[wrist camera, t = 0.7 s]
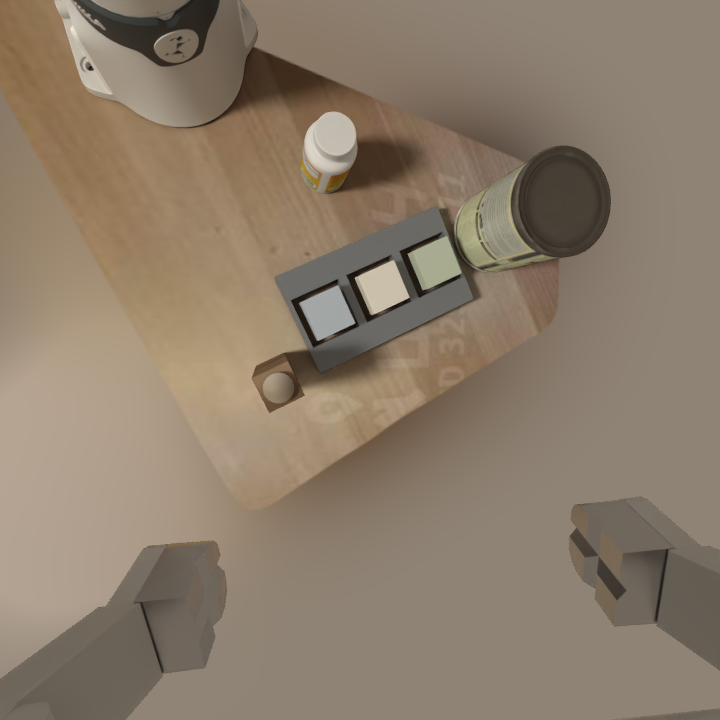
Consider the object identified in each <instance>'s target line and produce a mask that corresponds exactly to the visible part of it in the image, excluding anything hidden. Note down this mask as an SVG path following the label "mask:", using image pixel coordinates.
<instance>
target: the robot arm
mask: <svg viewBox="0 0 720 720" xmlns="http://www.w3.org/2000/svg"><path fill="white" fill-rule="evenodd" d="M55 4H56V7H57V9H58V11H59V13H60V15H61V17H62V19H63V22H64V26H65V29H66V32H67V36H68V39H69V42H70V45H71V49H72V52H73V55H74V58H75V62H76V65H77V68H78V72H79V75H80V78H81V80H82V83H83V84H84V86H85V88H86V89H87V90H88V91H89V92H90V93H92V94H94V95H96V96H98V97H102V98H105V99H109V100H114V101H118V102H120V103H122V104H124V105H126V106H127V107H129V108H130V109H132V110H133V111H135V112H136V113H138V114H139V115H141V116H143V117H144V118H146V119H148V120H151V121H153V122H156V123H159V124H162V125H166V126H172V127H192V126H197V125H201V124H204V123H207V122H209V121H211V120H213V119H215V118H217V117H218V116H220V115H221V114H222V113H223V112H225V111H226V110H227V109H228V108H229V106H230V105H231V104H232V103H233V101H234V100H235V98H236V96H237V94H238V92H239V90H240V87H241V84H242V80H243V75H244V67H245V61H246V57H247V55H248V54H249V52H250V51H251V49H252V48H253V46H254V44H255V42H256V40H257V36H258V31H257V27H256V23H255V21H254V19H253V18H252V17H251V15H250V13H249V12H248V10H247V9H246V7H245V6H244V4H243V3H242V1H241V0H55ZM90 66H92V67H93V69H94V70H93V71H89V70H88V68H89V67H90ZM571 521H572V522H573V524H574V525H575V526H576V529H575V530H574V531H573V533H572V534H571V535H570V538H569V550H570V554H571V559H572V563H573V565H574V567H575V569H576V571H577V573H578V574H579V576H580V577H581V579H582V580H583V581H584V582H585V583H587V584H588V585H590V586H592V587H593V588H595V589H596V592H595V600H596V601H597V602H598V604H599V605H600V607H601V608H602V610H603V611H604V612H605V614H606V615H607V617H608V618H609V620H610V621H611V623H612V624H613V625H614V626H626V625H641V624H655V623H657V626H658V627H659V628H661V629H662V630H663V631H665V632H666V633H668V634H669V635H671V636H672V637H673V638H675V639H676V640H677V641H679V642H680V643H682V644H683V645H685V646H686V647H687V648H689V649H690V650H692V651H693V652H694V653H696V654H697V655H699V656H700V657H701V658H703V659H704V660H706V661H707V662H709V663H710V664H711V665H713V666H714V667H716V668H717V669H719V670H720V550H718V549H716V548H713V547H711V546H701V545H699V544H698V543H697V542H696V541H695V540H694V539H693V538H691V537H690V536H689V535H688V534H687V533H686V532H684V531H683V530H682V529H681V528H680V527H679V526H678V525H676V524H675V523H674V522H673V521H672V520H671V519H670V518H668V517H667V516H666V515H665V514H664V513H663V512H662V511H660V510H659V509H658V508H657V507H656V506H655V505H653V504H652V503H651V502H650V501H649V500H648V499H645V498H643V497H635V498H627V499H619V500H615V501H605V502H596V503H586V504H577V505H574V506H573V509H572V511H571ZM219 557H220V552H219V548H218V544H217V543H216V542H215V541H200V542H187V543H174V544H165V545H153V546H148V547H146V548H144V549H143V550H142V552H141V553H140V554H139V556H138V557H137V559H136V561H135V562H134V564H133V565H132V567H131V568H130V570H129V571H128V573H127V575H126V576H125V578H124V579H123V581H122V582H121V584H120V585H119V587H118V588H117V590H116V592H115V593H114V595H113V596H112V598H111V599H110V601H109V602H108V604H107V605H106V606H105V607H98V608H97V609H95V610H94V611H93V612H91V613H90V614H89V615H87V616H86V617H85V618H83V619H82V620H81V621H79V622H78V623H76V624H75V625H73V626H72V627H71V628H69V629H68V630H67V631H65V632H64V633H62V634H61V635H60V636H59V637H57V638H56V639H54V640H53V641H51V642H50V643H49V644H47V645H46V646H45V647H43V648H42V649H41V650H39V651H38V652H36V653H35V654H34V655H32V656H31V657H30V658H28V659H27V660H25V661H24V662H23V663H21V664H20V665H19V666H17V667H16V668H14V669H13V670H12V671H10V672H9V673H8V674H6V675H5V676H3V677H2V678H1V679H0V720H126V718H127V717H128V716H129V715H130V714H131V713H132V712H133V711H134V709H135V708H136V707H137V706H138V705H139V704H140V702H141V701H142V700H143V699H144V698H145V697H146V695H147V694H148V693H149V692H150V691H151V690H152V688H153V687H154V686H155V685H156V684H157V682H158V681H159V680H160V679H161V678H162V677H163V675H162V674H164V673H171V672H179V671H186V670H193V669H202V668H205V667H206V664H207V661H208V658H209V654H210V652H211V649H212V645H213V642H214V639H215V634H214V630H213V626H214V625H215V624H216V623H217V622H218V621H219V620H220V619H221V617H222V614H223V611H224V607H225V602H226V594H227V588H226V577H225V573H224V570H222V569H221V568H220V567H219V566H218V565H217V563H218V560H219ZM614 720H720V709H711V710H701V711H692V712H682V713H672V714H663V715H654V716H653V715H652V716H643V717H634V718H625V719H614Z"/></svg>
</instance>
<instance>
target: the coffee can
mask: <svg viewBox="0 0 720 720" xmlns="http://www.w3.org/2000/svg"><path fill="white" fill-rule="evenodd" d="M610 201H611V198H610V189H609V185H608V182H607V179H606V176H605V174H604V172H603V171H602V169H601V167H600V166H599V165H598V163H597V162H596V161H595V160H594V159H593V158H592V157H591V156H590V155H588V154H587V153H585V152H584V151H582V150H579V149H577V148H574V147H571V146H555V147H551V148H548V149H546V150H544V151H542V152H540V153H539V154H537V155H536V156H534V157H533V158H532V159H531V160H530V161H528V162H527V163H525V164H523V165H522V166H520V167H519V168H517V169H515V170H514V171H512V172H511V173H509V174H508V175H506V176H505V177H503V178H502V179H500V180H498V181H497V182H495V183H494V184H492V185H490V186H489V187H487V188H486V189H484V190H482V191H481V192H479V193H478V194H476V195H474V196H472V197H470V198H469V199H468V200H467V201H466V202H465V203H464V204H463V205H462V206H461V208H460V209H459V211H458V213H457V216H456V219H455V222H454V241H455V245H456V248H457V250H458V252H459V254H460V256H461V257H462V259H463V260H464V261H465V262H466V263H467V264H468V265H469V266H471V267H472V268H474V269H476V270H478V271H481V272H485V273H495V272H500V271H503V270H506V269H510V268H515V267H519V266H523V265H528V264H532V263H537V262H542V261H546V260H550V259H554V258H561V257H570V256H574V255H578V254H580V253H582V252H584V251H586V250H587V249H589V248H590V247H591V246H592V245H593V244H594V243H595V242H596V241H597V240H598V239H599V237H600V236H601V235H602V233H603V231H604V229H605V227H606V224H607V221H608V217H609V214H610V204H611V202H610Z"/></svg>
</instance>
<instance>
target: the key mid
mask: <svg viewBox="0 0 720 720" xmlns="http://www.w3.org/2000/svg"><path fill="white" fill-rule="evenodd" d="M355 280H356V282H357V285H358V287H359V289H360V292H361V294H362V296H363V298H364V301H365V303H366V305H367V307H368V310H369V312H370V314H371V315H373V314H376V313H378V312H380V311H382V310H385V309H387V308H389V307H391V306H393V305H395V304H397V303H399V302H401V301H404V300H406V299H408V298H410V297H409V295H408V292H407V290H406V288H405V285H404V283H403V280H402V278H401V276H400V273H399V271H398V269H397V266H396V264H395V262H394V260H393V261H390V262H388V263H386V264H384V265H382V266H379V267H377V268H375V269H373V270H371V271H368V272H366V273H364V274H362V275H360V276H357V277H356V278H355Z"/></svg>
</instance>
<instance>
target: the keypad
mask: <svg viewBox="0 0 720 720" xmlns="http://www.w3.org/2000/svg"><path fill="white" fill-rule="evenodd" d="M435 235H437V237H438V240H439V239H441V238H443V237H445V236H447V237H448V239H449V242H450V244H451V247H452V249H453V252H454V255H455V257H456V260H457V262H458V265H459V267H460V270H461V272H462V273H461V274H459V275H456V276H454V280H452V281H450V282H448V283H446V284H444V285H442V286H440V287H438V288H435V289H433V290H431V291H429V292H427V293H425V294H423V295H421V296H419V297H418V295H417V292H416V290H415V288H414V285H413V283H412V280H411V278H410V276H409V273H408V271H407V268H406V266H405V264H404V261H403V259H402V256H401V254H400V252H399V251H402V250H404V249H406V248H408V247H410V246H413V245H415V244H417V243H419V242H422V241H424V240H426V239H428V238H430V237H433V236H435ZM386 257H387V258H388V260H389V262H390V261H393V260H394V262H395V264H396V266H397V269H398V271H399V273H400V276H401V278H402V280H403V283H404V285H405V288H406V290H407V292H408V295H409V297H410V298H408V299H406V303H404V304H402V305H400V306H397V307H395V308H393V309H391V310H389V311H387V312H385V313H383V314H381V315H379V316H376V317H374V318H372V319H370V320H368V321H366V319H365V316H364V314H363V312H362V310H361V307H360V305H359V303H358V301H357V298H356V296H355V294H354V292H353V289H352V287H351V285H350V283H349V280H348V278H347V276H346V275H349V274H351V273H353V272H355V271H357V270H360V269H362V268H364V267H366V266H368V265H371V264H373V263H375V262H377V261H379V260H382V259H384V258H386ZM335 280H336V282H337V284H338V286H339V288H340V290H341V293H342V295H343V297H344V299H345V302H346V304H347V306H348V308H349V310H350V313H351V315H352V317H353V319H354V321H355V324H356V326H355V327H353V328H351V329H349V330H347V331H345V332H343V333H341V334H338V335H336V336H334V337H332V338H330V339H328V340H326V341H324V342H322V343H319V344H317V345H315V346H312V344H311V342H310V340H309V338H308V336H307V334H306V332H305V329H304V327H303V325H302V323H301V321H300V319H299V317H298V315H297V313H296V311H295V308H294V306H293V304H292V302H291V300H293V299H295V298H298V297H300V296H302V295H304V294H306V293H309V292H311V291H313V290H315V289H318V288H320V287H322V286H324V285H326V284H329V283H331V282H333V281H335ZM275 281H276V283H277V285H278V287H279V289H280V292H281V294H282V296H283V298H284V300H285V302H286V304H287V306H288V308H289V310H290V312H291V315H292V317H293V319H294V321H295V323H296V325H297V327H298V329H299V331H300V333H301V335H302V338H303V340H304V342H305V344H306V346H307V348H308V350H309V352H310V354H311V356H312V358H313V361H314V363H315V365H316V367H317V369H318V371H319V372H320V373H322V372H324V371H326V370H328V369H331V368H333V367H335V366H337V365H339V364H341V363H343V362H345V361H347V360H349V359H351V358H353V357H355V356H357V355H359V354H361V353H363V352H365V351H368V350H370V349H372V348H374V347H376V346H378V345H380V344H382V343H384V342H386V341H388V340H390V339H392V338H394V337H396V336H398V335H400V334H402V333H405V332H407V331H409V330H411V329H413V328H415V327H417V326H419V325H421V324H423V323H425V322H427V321H429V320H431V319H433V318H435V317H437V316H439V315H442V314H444V313H446V312H448V311H450V310H452V309H454V308H456V307H458V306H460V305H462V304H464V303H466V302H468V301H470V300H472V299H474V298H473V296H472V293H471V290H470V288H469V285H468V283H467V280H466V278H465V275H464V273H463V270H462V268H461V265H460V263H459V260H458V257H457V255H456V252H455V250H454V247H453V245H452V242H451V240H450V237H449V235H448V232H447V229H446V227H445V224H444V222H443V219H442V217H441V214H440V212H439V209H438V207H437V206H435V207H433V208H431V209H429V210H426V211H424V212H422V213H419V214H417V215H415V216H413V217H410V218H408V219H406V220H404V221H401V222H399V223H397V224H394V225H392V226H390V227H388V228H385V229H383V230H381V231H379V232H376V233H374V234H372V235H369V236H367V237H365V238H363V239H360V240H358V241H356V242H353V243H351V244H349V245H347V246H344V247H342V248H340V249H338V250H335V251H333V252H331V253H328V254H326V255H324V256H322V257H319V258H317V259H315V260H313V261H310V262H308V263H306V264H303V265H301V266H299V267H297V268H294V269H292V270H290V271H288V272H285V273H283V274H281V275H278V276H276V277H275Z"/></svg>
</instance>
